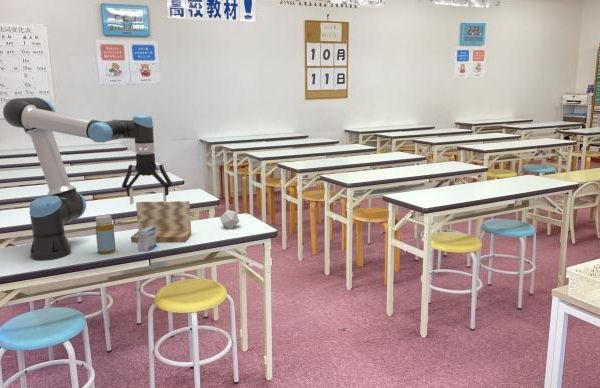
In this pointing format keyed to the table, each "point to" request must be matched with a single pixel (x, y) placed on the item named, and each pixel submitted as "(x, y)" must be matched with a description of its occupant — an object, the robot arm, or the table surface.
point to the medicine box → (147, 238)
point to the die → (229, 219)
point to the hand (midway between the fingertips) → (148, 203)
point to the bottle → (105, 234)
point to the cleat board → (165, 220)
